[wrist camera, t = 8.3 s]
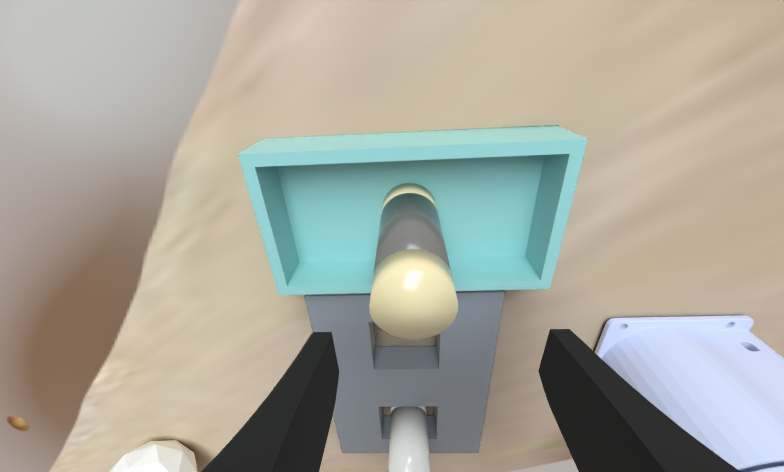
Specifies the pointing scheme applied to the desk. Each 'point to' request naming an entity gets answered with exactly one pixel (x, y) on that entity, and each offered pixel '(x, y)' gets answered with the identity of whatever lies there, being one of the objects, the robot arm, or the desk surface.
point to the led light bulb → (412, 267)
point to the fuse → (408, 440)
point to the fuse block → (410, 372)
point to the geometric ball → (158, 458)
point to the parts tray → (436, 173)
